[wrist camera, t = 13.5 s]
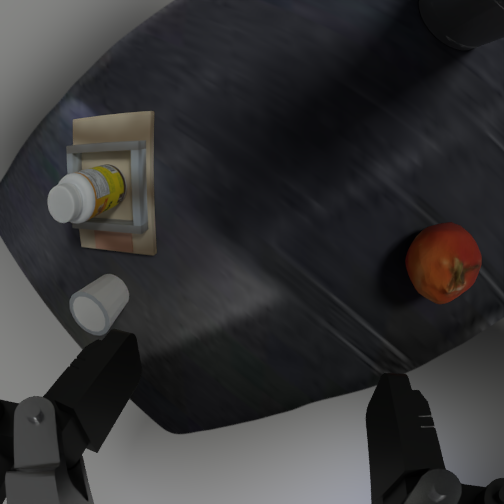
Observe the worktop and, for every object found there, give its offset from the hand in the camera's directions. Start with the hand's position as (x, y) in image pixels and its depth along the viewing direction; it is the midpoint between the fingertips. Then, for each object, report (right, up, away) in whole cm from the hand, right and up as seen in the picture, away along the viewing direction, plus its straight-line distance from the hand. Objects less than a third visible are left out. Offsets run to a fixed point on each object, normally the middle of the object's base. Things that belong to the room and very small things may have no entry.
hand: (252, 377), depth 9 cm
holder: (-18, +13, +28) cm, 36 cm away
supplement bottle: (-18, +12, +28) cm, 35 cm away
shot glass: (-21, -2, +35) cm, 41 cm away
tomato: (+22, +4, +26) cm, 34 cm away
